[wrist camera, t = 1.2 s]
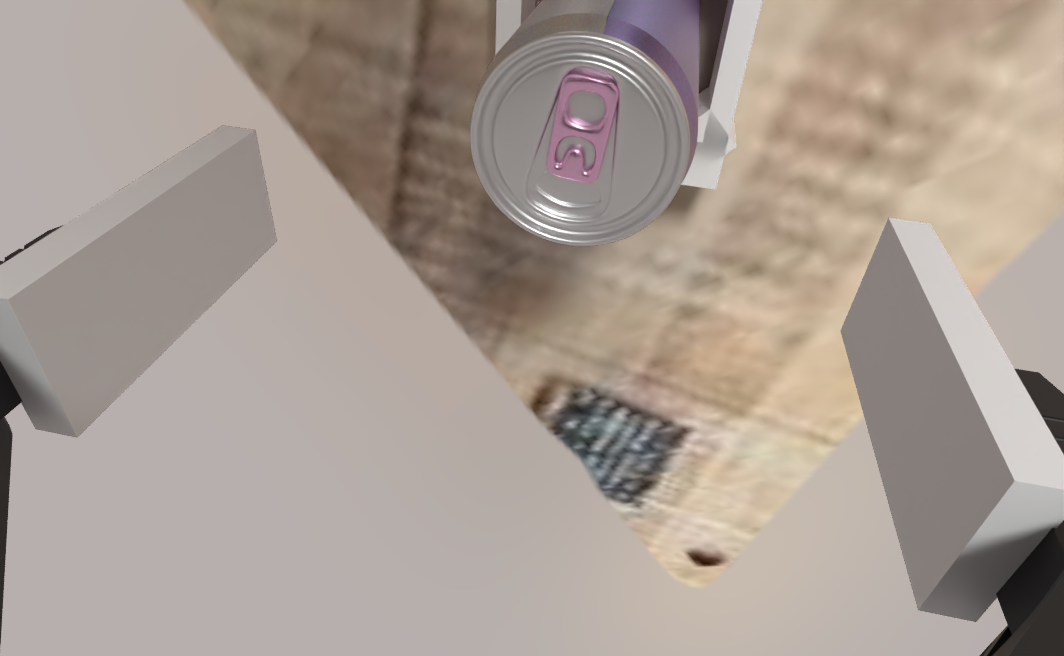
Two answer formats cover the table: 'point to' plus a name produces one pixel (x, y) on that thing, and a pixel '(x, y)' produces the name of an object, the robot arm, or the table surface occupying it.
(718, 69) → the strip dock
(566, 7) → the beverage can
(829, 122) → the table surface
